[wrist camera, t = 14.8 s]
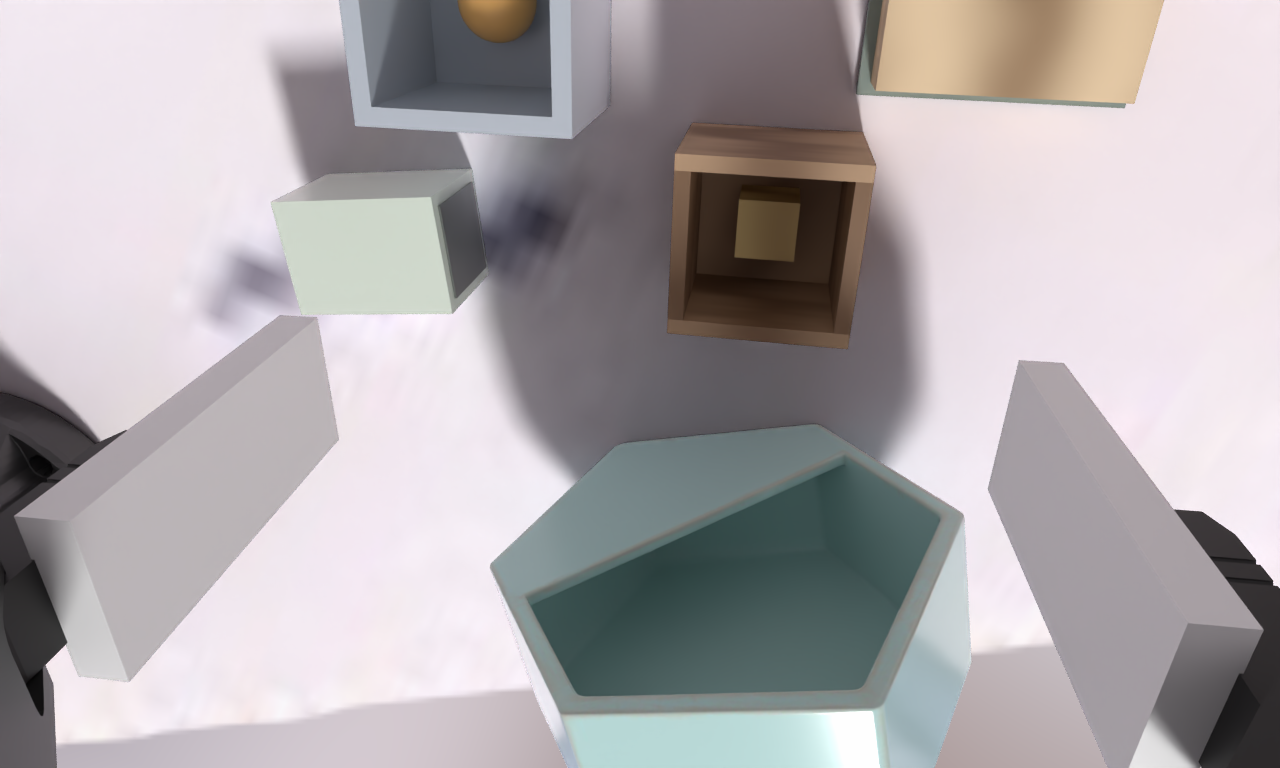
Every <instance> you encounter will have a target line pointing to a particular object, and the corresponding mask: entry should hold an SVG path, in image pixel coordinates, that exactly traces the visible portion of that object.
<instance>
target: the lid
mask: <svg viewBox="0 0 1280 768" xmlns="http://www.w3.org/2000/svg"><path fill="white" fill-rule="evenodd" d="M1163 3H1164V0H883V1H882V8H881V15H880V21H879V28H878V35H877V42H876V49H875V56H874V62H873V69H872V76H871V84H872V86H873V87H874V89H875V91H889V92H909V93H929V94H949V95H969V96H989V97H1009V98H1029V99H1049V100H1069V101H1089V102H1109V103H1129V104H1134V103H1135V100H1136V96H1137V93H1138V89H1139V86H1140V82H1141V79H1142V75H1143V72H1144V68H1145V65H1146V61H1147V58H1148V54H1149V51H1150V48H1151V44H1152V41H1153V37H1154V34H1155V30H1156V27H1157V23H1158V20H1159V16H1160V13H1161V9H1162V6H1163Z"/></svg>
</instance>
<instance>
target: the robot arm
mask: <svg viewBox="0 0 1280 768" xmlns="http://www.w3.org/2000/svg"><path fill="white" fill-rule="evenodd" d="M338 440H339V437H338V431H337V425H336V420H335V414H334V409H333V403H332V397H331V392H330V386H329V380H328V375H327V369H326V364H325V358H324V352H323V347H322V341H321V336H320V330H319V324H318V319H317V317H300V316H284V315H280V316H278V317H277V318H276V319H274V320H273V321H272V322H270V323H269V324H268V325H266V326H265V327H264V328H262V329H261V330H260V331H258V332H257V333H256V334H254V335H253V336H252V337H251V338H249V339H248V340H247V341H245V342H244V343H243V344H241V345H240V346H239V347H237V348H236V349H235V350H233V351H232V352H231V353H229V354H228V355H227V356H225V357H224V358H223V359H221V360H220V361H219V362H217V363H216V364H215V365H213V366H212V367H211V368H209V369H208V370H207V371H205V372H204V373H203V374H201V375H200V376H199V377H198V378H196V379H195V380H194V381H192V382H191V383H190V384H188V385H187V386H186V387H184V388H183V389H182V390H180V391H179V392H178V393H176V394H175V395H174V396H172V397H171V398H170V399H168V400H167V401H166V402H164V403H163V404H162V405H160V406H159V407H158V408H156V409H155V410H154V411H152V412H151V413H150V414H148V415H147V416H146V417H145V418H143V419H142V420H141V421H139V422H138V423H137V424H135V425H134V426H133V427H131V428H130V429H129V430H125V431H123V432H121V433H118V434H116V435H114V436H112V437H110V438H107V439H105V440H103V441H101V442H99V443H96V444H94V443H93V442H92V441H91V440H90V439H89V438H87V437H86V436H85V435H84V434H83V433H81V432H80V431H79V430H78V429H76V428H75V427H73V426H72V425H71V424H69V423H68V422H66V421H65V420H63V419H62V418H60V417H59V416H57V415H55V414H53V413H52V412H50V411H48V410H46V409H44V408H42V407H40V406H38V405H36V404H34V403H31V402H29V401H26V400H24V399H21V398H18V397H15V396H12V395H8V394H4V393H0V768H57V761H56V737H55V713H54V689H53V682H52V680H51V677H50V675H49V673H48V670H47V668H46V666H45V665H46V664H47V663H48V662H49V661H50V660H51V659H52V658H53V657H54V656H55V655H56V654H57V653H58V652H59V651H60V650H61V649H62V648H63V647H64V646H65V645H66V647H67V649H68V651H69V654H70V656H71V659H72V661H73V664H74V666H75V669H76V671H77V674H78V676H79V677H88V678H97V679H106V680H115V681H124V682H130V681H131V679H132V678H133V677H134V676H135V675H136V674H137V672H138V671H139V670H140V669H141V668H142V667H143V666H144V664H145V663H146V662H147V661H148V660H149V659H150V657H151V656H152V655H153V654H154V653H155V652H156V650H157V649H158V648H159V647H160V646H161V645H162V644H163V642H164V641H165V640H166V639H167V638H168V637H169V635H170V634H171V633H172V632H173V631H174V630H175V628H176V627H177V626H178V625H179V624H180V623H181V622H182V620H183V619H184V618H185V617H186V616H187V615H188V613H189V612H190V611H191V610H192V609H193V608H194V607H195V605H196V604H197V603H198V602H199V601H200V600H201V598H202V597H203V596H204V595H205V594H206V593H207V591H208V590H209V589H210V588H211V587H212V586H213V585H214V583H215V582H216V581H217V580H218V579H219V578H220V576H221V575H222V574H223V573H224V572H225V571H226V569H227V568H228V567H229V566H230V565H231V564H232V563H233V561H234V560H235V559H236V558H237V557H238V556H239V554H240V553H241V552H242V551H243V550H244V549H245V547H246V546H247V545H248V544H249V543H250V542H251V541H252V539H253V538H254V537H255V536H256V535H257V534H258V532H259V531H260V530H261V529H262V528H263V527H264V526H265V524H266V523H267V522H268V521H269V520H270V519H271V517H272V516H273V515H274V514H275V513H276V512H277V510H278V509H279V508H280V507H281V506H282V505H283V504H284V502H285V501H286V500H287V499H288V498H289V497H290V495H291V494H292V493H293V492H294V491H295V490H296V488H297V487H298V486H299V485H300V484H301V483H302V482H303V480H304V479H305V478H306V477H307V476H308V475H309V473H310V472H311V471H312V470H313V469H314V468H315V466H316V465H317V464H318V463H319V462H320V461H321V460H322V458H323V457H324V456H325V455H326V454H327V453H328V451H329V450H330V449H331V448H332V447H333V446H334V444H335V443H336V442H337V441H338ZM988 491H989V493H990V495H991V498H992V500H993V502H994V505H995V507H996V509H997V512H998V514H999V516H1000V519H1001V521H1002V523H1003V526H1004V528H1005V530H1006V533H1007V535H1008V537H1009V540H1010V542H1011V544H1012V547H1013V549H1014V551H1015V554H1016V556H1017V558H1018V561H1019V563H1020V565H1021V568H1022V570H1023V572H1024V574H1025V577H1026V579H1027V581H1028V584H1029V586H1030V588H1031V591H1032V593H1033V595H1034V598H1035V600H1036V602H1037V605H1038V607H1039V609H1040V612H1041V614H1042V616H1043V619H1044V621H1045V623H1046V626H1047V628H1048V630H1049V633H1050V635H1051V637H1052V640H1053V642H1054V644H1055V647H1056V649H1057V651H1058V653H1059V656H1060V658H1061V660H1062V663H1063V665H1064V667H1065V670H1066V672H1067V674H1068V677H1069V679H1070V681H1071V684H1072V686H1073V688H1074V691H1075V693H1076V695H1077V697H1078V700H1079V702H1080V705H1081V707H1082V709H1083V711H1084V714H1085V716H1086V719H1087V721H1088V723H1089V726H1090V728H1091V730H1092V733H1093V735H1094V737H1095V740H1096V742H1097V744H1098V746H1099V749H1100V751H1101V753H1102V756H1103V758H1104V760H1105V763H1106V765H1107V767H1108V768H1200V766H1201V767H1202V768H1280V588H1279V587H1278V586H1273V580H1272V579H1271V577H1270V576H1269V575H1268V574H1267V573H1266V571H1265V570H1264V569H1263V568H1262V567H1261V565H1256V559H1255V558H1254V557H1253V556H1252V554H1251V553H1250V552H1249V551H1248V550H1247V548H1246V547H1245V546H1244V545H1243V543H1242V542H1241V541H1240V540H1239V539H1238V537H1237V536H1236V535H1235V534H1234V533H1232V532H1231V531H1229V530H1228V529H1226V528H1225V527H1223V526H1222V525H1221V524H1219V523H1218V522H1216V521H1215V520H1213V519H1212V518H1210V517H1209V516H1208V515H1206V514H1205V513H1203V512H1199V511H1186V510H1174V509H1173V508H1172V507H1171V505H1170V504H1169V503H1168V501H1167V500H1166V499H1165V497H1164V496H1163V495H1162V493H1161V492H1160V491H1159V489H1158V488H1157V487H1156V485H1155V484H1154V483H1153V481H1152V480H1151V479H1150V477H1149V476H1148V475H1147V473H1146V472H1145V471H1144V469H1143V468H1142V467H1141V465H1140V464H1139V463H1138V461H1137V460H1136V459H1135V457H1134V456H1133V455H1132V453H1131V452H1130V451H1129V449H1128V448H1127V447H1126V445H1125V444H1124V443H1123V441H1122V440H1121V439H1120V437H1119V436H1118V435H1117V433H1116V432H1115V431H1114V429H1113V428H1112V427H1111V425H1110V424H1109V423H1108V421H1107V420H1106V419H1105V417H1104V416H1103V415H1102V413H1101V412H1100V411H1099V409H1098V408H1097V407H1096V405H1095V404H1094V403H1093V401H1092V400H1091V399H1090V397H1089V396H1088V395H1087V393H1086V392H1085V391H1084V389H1083V388H1082V387H1081V385H1080V384H1079V383H1078V381H1077V380H1076V379H1075V377H1074V376H1073V375H1072V373H1071V372H1070V371H1069V369H1068V368H1067V367H1066V365H1065V364H1064V363H1054V362H1037V361H1021V360H1019V362H1018V366H1017V370H1016V375H1015V379H1014V383H1013V387H1012V391H1011V395H1010V399H1009V404H1008V408H1007V412H1006V416H1005V420H1004V424H1003V428H1002V433H1001V437H1000V441H999V445H998V449H997V453H996V457H995V462H994V466H993V470H992V474H991V478H990V482H989V486H988Z"/></svg>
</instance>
